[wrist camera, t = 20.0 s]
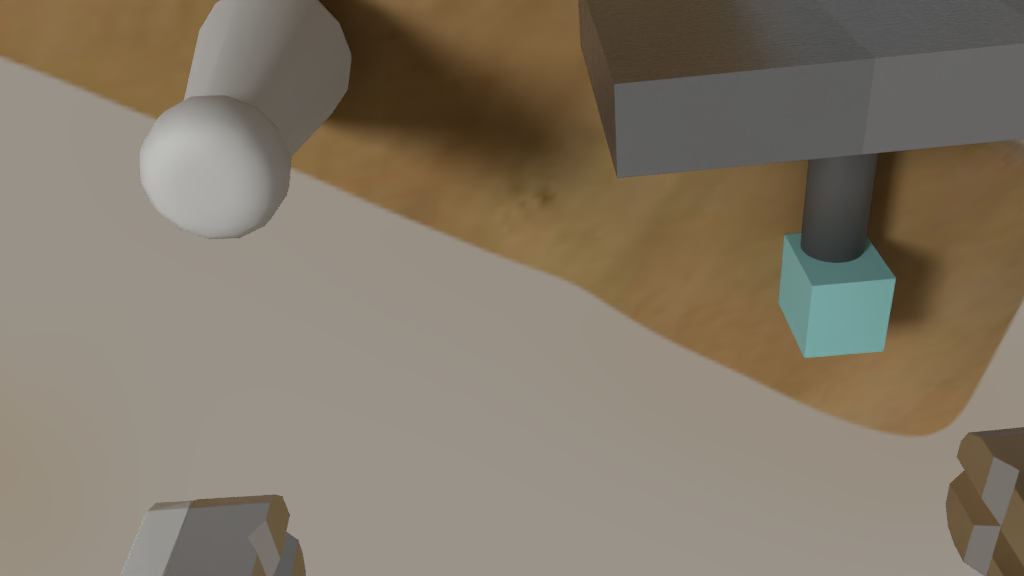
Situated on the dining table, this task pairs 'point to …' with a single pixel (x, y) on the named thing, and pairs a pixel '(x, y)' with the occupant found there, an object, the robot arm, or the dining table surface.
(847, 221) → the plug
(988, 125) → the block
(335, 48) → the salt shaker
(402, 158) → the dining table surface
